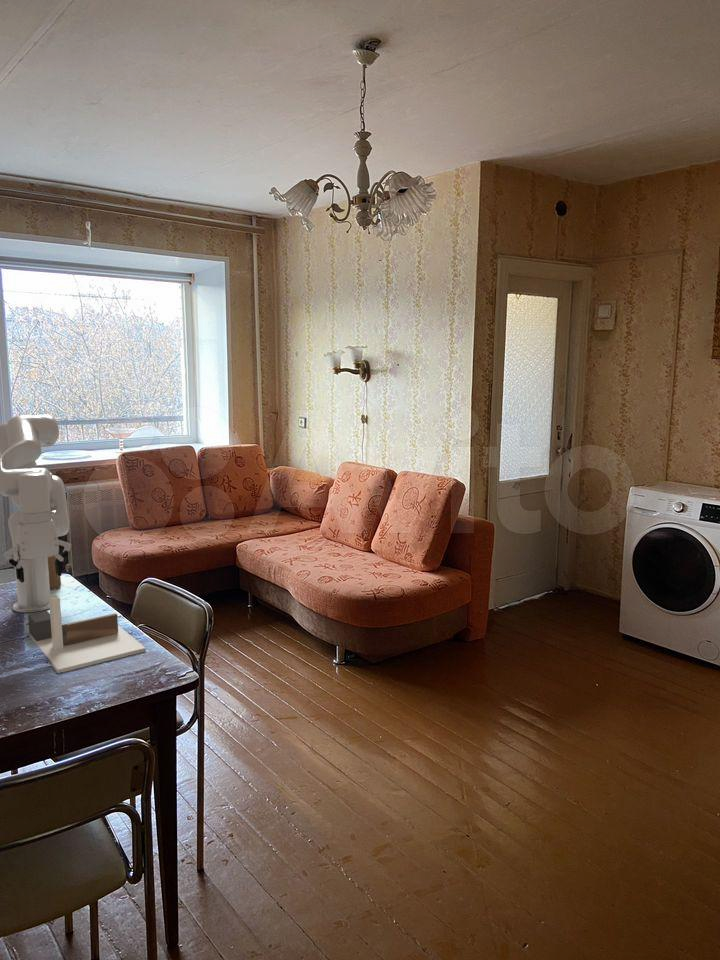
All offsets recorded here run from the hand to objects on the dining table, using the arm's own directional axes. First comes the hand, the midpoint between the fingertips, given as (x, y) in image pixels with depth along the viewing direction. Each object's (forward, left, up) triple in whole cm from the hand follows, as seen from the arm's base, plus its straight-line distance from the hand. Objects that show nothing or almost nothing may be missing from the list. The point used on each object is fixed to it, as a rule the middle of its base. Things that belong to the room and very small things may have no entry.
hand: (40, 577), depth 194 cm
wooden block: (-52, +13, -19) cm, 57 cm away
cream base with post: (+10, +8, -18) cm, 22 cm away
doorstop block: (-2, 0, -17) cm, 17 cm away
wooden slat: (+10, +10, -17) cm, 22 cm away
